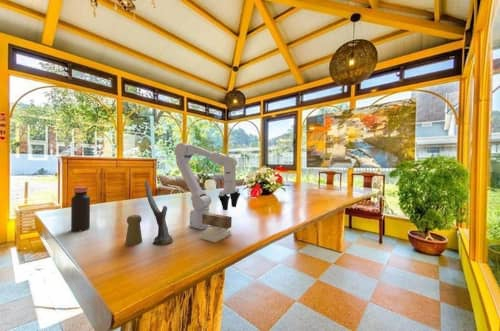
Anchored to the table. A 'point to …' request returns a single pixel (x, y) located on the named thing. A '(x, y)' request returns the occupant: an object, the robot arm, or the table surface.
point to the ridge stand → (215, 233)
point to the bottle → (80, 210)
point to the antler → (159, 220)
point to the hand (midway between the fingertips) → (229, 208)
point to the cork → (133, 230)
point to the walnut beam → (216, 220)
